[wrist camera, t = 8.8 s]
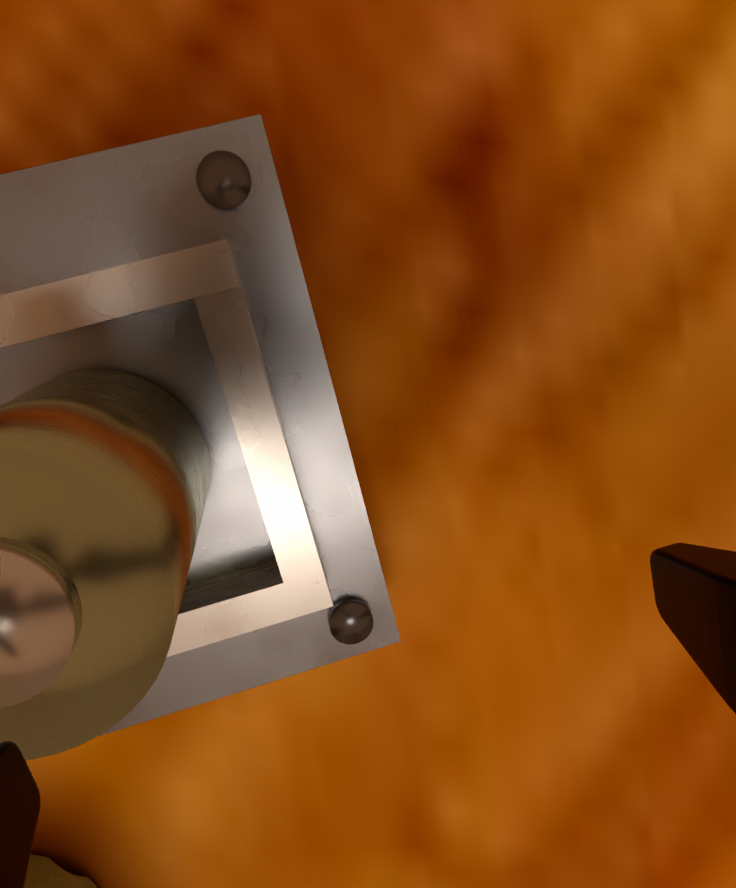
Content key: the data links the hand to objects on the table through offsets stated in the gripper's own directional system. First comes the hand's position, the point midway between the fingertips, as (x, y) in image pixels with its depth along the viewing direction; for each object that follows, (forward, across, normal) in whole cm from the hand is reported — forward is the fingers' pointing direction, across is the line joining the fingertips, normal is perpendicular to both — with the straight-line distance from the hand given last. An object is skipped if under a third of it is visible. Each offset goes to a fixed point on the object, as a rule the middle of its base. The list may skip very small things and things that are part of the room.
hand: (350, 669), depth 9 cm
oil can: (+8, +5, -2) cm, 10 cm away
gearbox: (+11, +7, -2) cm, 13 cm away
